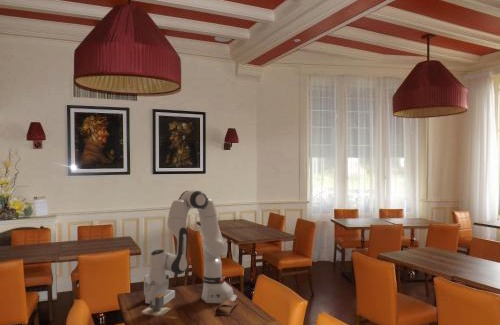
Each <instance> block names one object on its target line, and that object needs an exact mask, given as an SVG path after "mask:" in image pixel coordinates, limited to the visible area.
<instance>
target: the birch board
mask: <svg viewBox="0 0 500 325" xmlns="http://www.w3.org/2000/svg"><path fill="white" fill-rule="evenodd" d="M170 310H172V307H167V306H166V307H165V306H163V307H162V308H161V309H151V308H150V305H149V306H148V307H146V308H145V309H143V310H142V311H141V312H140V313H141V314H143V315H149V316H155V317H156V316H157V317H164V316H166V314H167V312H169V311H170Z"/></svg>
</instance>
